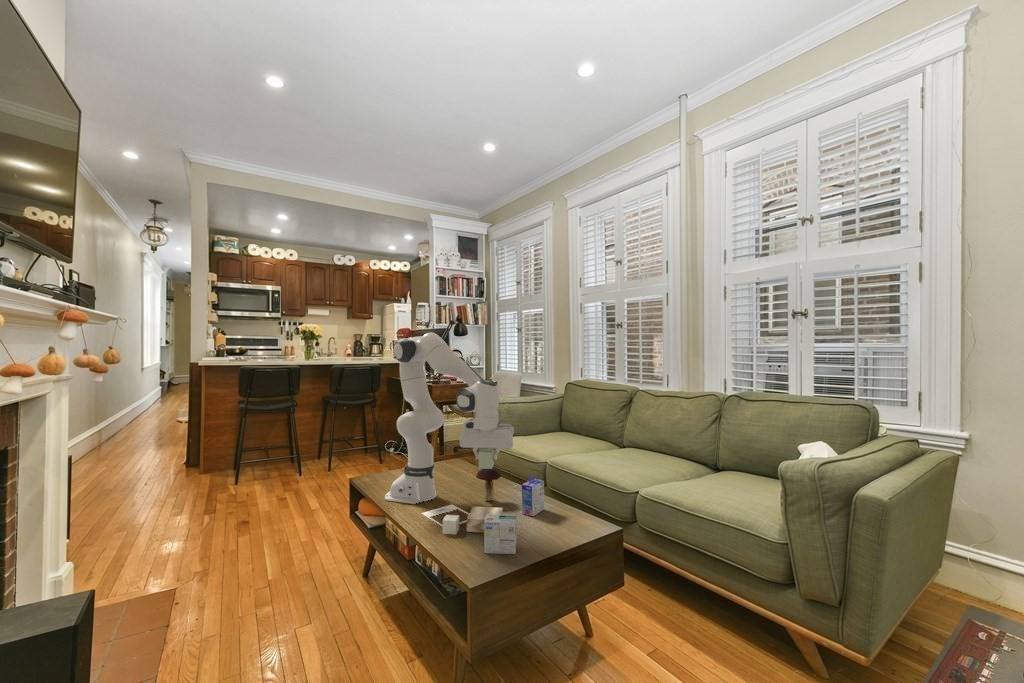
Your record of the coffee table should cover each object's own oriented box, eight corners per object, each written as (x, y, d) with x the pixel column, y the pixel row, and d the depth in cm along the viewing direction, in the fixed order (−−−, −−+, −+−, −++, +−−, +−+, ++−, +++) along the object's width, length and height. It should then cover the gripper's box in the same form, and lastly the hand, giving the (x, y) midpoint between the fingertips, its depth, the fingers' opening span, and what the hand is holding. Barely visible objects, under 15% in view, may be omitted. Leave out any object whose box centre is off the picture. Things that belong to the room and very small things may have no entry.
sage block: (478, 468, 161) (478, 452, 161) (480, 464, 166) (481, 448, 166) (491, 468, 161) (492, 452, 161) (493, 465, 166) (493, 449, 166)
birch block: (466, 532, 159) (466, 518, 159) (472, 519, 171) (472, 506, 171) (499, 533, 158) (499, 520, 158) (502, 520, 170) (502, 507, 170)
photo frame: (451, 504, 184) (477, 517, 170) (451, 506, 184) (477, 519, 170) (421, 512, 174) (445, 527, 161) (421, 515, 174) (445, 530, 161)
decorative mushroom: (491, 507, 182) (491, 471, 182) (470, 501, 188) (471, 467, 188) (506, 499, 191) (506, 465, 191) (486, 494, 197) (486, 461, 197)
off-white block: (442, 533, 157) (442, 520, 157) (445, 528, 162) (446, 514, 162) (456, 534, 156) (456, 520, 156) (459, 528, 161) (459, 515, 161)
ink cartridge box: (533, 506, 183) (533, 472, 184) (544, 509, 180) (545, 474, 180) (520, 514, 175) (521, 478, 175) (532, 517, 172) (533, 480, 172)
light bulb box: (516, 545, 148) (516, 513, 148) (516, 554, 142) (516, 521, 142) (485, 544, 149) (485, 512, 149) (483, 553, 142) (483, 521, 142)
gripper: (514, 422, 166) (514, 458, 166) (462, 420, 168) (461, 456, 168) (513, 425, 160) (512, 463, 159) (458, 423, 162) (458, 460, 162)
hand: (486, 459), depth 164 cm, fingers closed on sage block, 5 cm apart
